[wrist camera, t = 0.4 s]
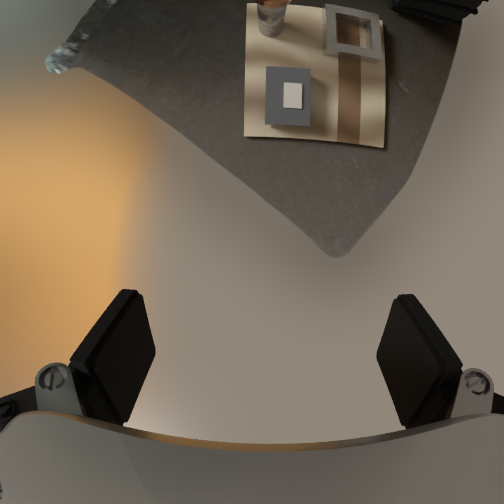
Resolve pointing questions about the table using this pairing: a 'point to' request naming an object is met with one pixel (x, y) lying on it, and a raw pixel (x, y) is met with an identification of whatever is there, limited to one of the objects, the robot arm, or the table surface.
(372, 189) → the table surface
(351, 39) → the board
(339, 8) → the socket
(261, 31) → the awl
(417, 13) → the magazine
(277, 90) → the block
